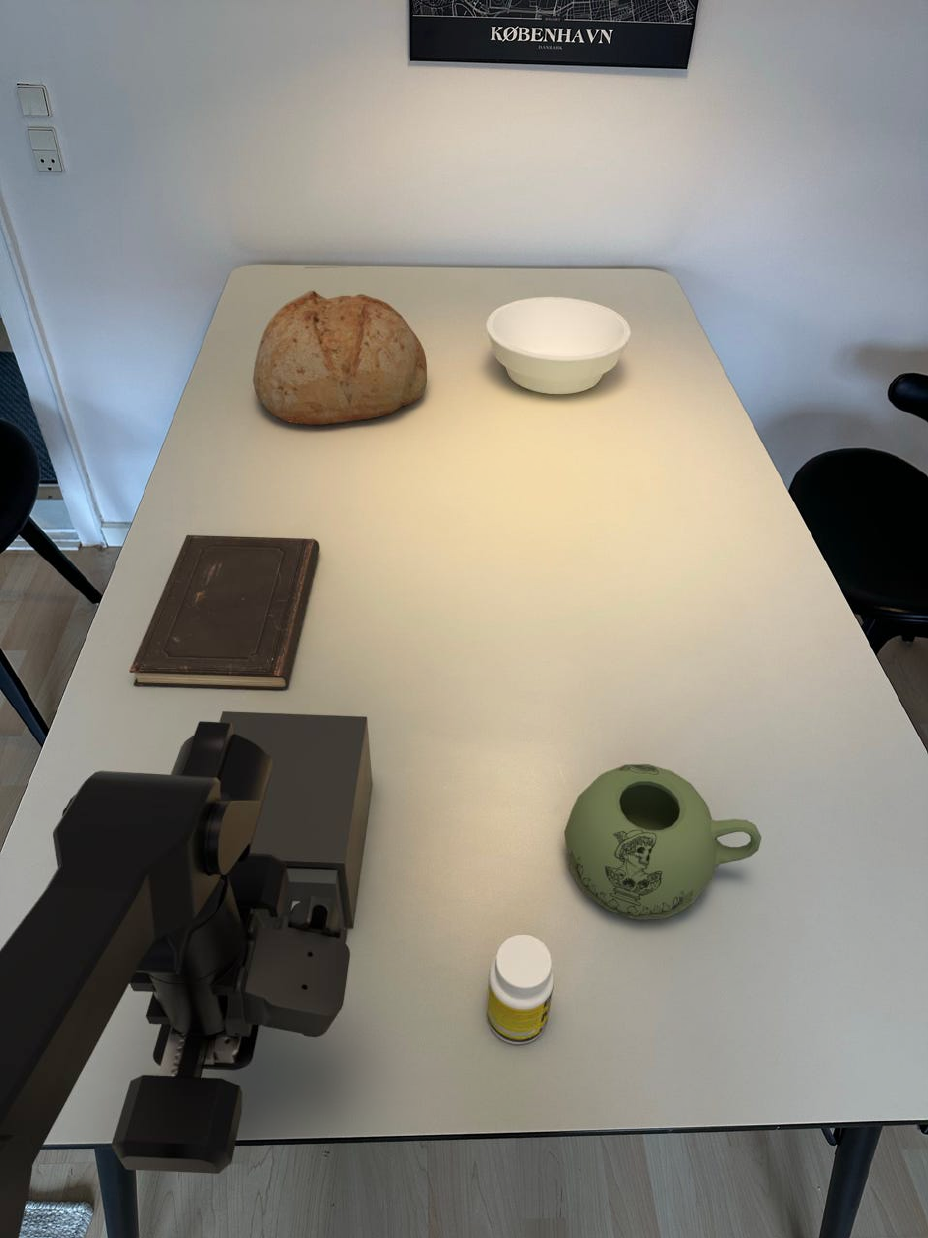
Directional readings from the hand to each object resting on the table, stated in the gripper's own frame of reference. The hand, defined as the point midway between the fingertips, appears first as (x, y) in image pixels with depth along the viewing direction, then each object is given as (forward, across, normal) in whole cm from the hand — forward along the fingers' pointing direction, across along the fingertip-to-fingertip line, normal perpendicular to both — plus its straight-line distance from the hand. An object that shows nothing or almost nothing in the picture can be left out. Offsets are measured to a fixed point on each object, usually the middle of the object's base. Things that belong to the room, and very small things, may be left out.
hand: (232, 1052), depth 61 cm
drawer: (+5, +16, 0) cm, 17 cm away
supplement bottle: (+6, +6, -20) cm, 21 cm away
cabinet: (+6, +20, 0) cm, 21 cm away
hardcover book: (+6, +50, +12) cm, 52 cm away
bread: (+5, +101, +7) cm, 102 cm away
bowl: (+5, +110, -26) cm, 113 cm away
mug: (+6, +20, -32) cm, 38 cm away
